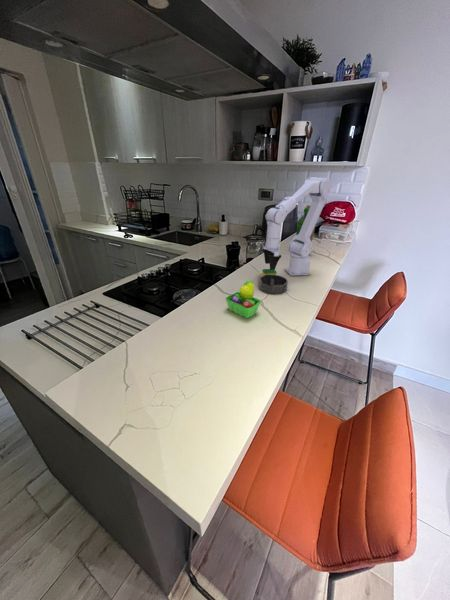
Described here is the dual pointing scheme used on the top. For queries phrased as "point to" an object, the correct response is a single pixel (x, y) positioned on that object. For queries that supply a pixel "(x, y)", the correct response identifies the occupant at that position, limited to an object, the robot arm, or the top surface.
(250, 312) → the fruit basket
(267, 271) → the sponge
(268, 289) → the pan
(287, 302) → the top surface
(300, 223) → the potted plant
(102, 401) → the top surface
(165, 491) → the top surface
